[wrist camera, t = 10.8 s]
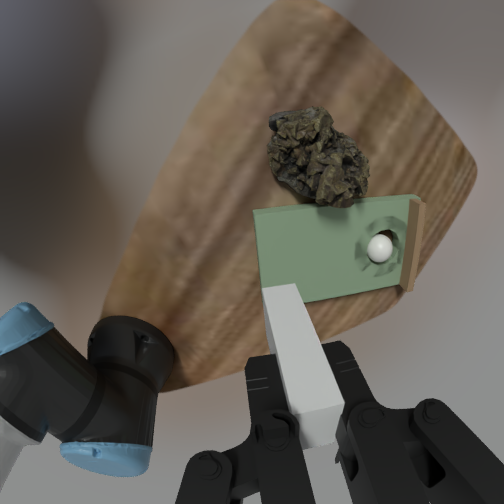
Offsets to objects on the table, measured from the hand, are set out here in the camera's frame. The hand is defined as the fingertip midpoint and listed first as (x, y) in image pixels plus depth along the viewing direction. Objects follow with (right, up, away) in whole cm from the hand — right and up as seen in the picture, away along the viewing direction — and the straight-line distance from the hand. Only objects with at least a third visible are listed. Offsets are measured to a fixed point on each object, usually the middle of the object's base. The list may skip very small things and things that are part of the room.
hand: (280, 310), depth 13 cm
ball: (+17, +3, +25) cm, 31 cm away
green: (+11, +3, +27) cm, 29 cm away
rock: (+6, +15, +21) cm, 27 cm away
